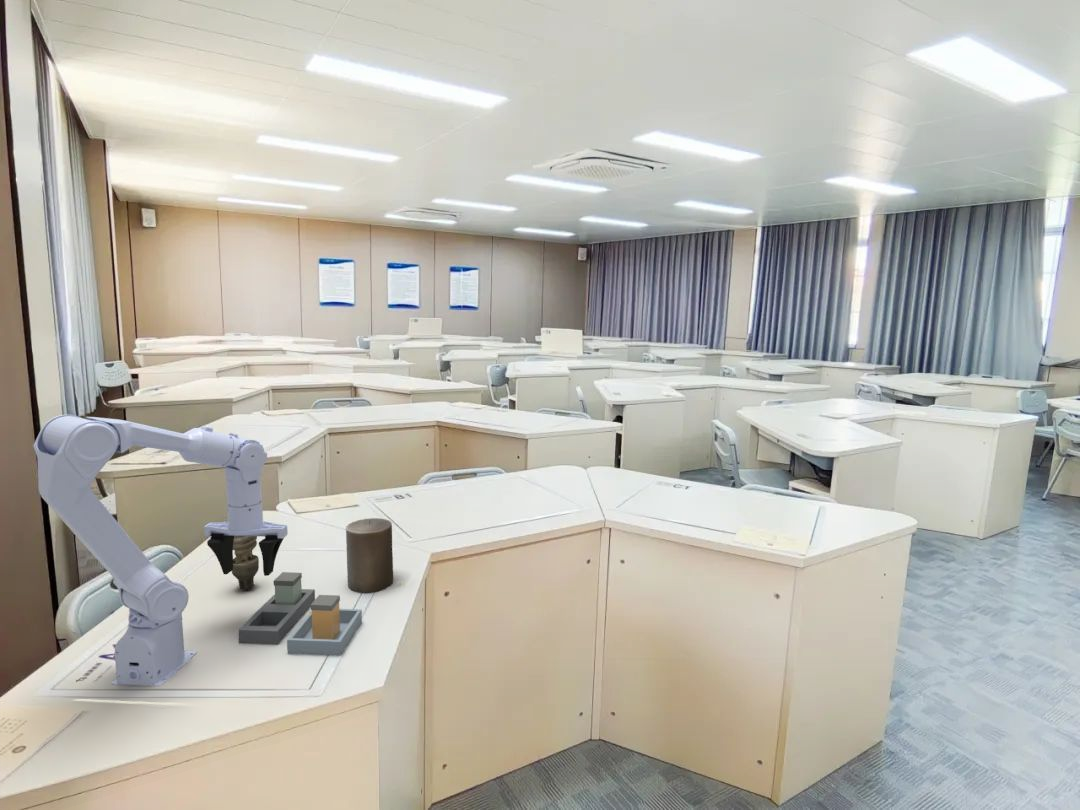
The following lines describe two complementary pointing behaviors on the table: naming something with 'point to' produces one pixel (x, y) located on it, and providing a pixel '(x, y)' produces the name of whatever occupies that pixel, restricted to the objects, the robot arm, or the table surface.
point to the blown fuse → (325, 617)
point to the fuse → (288, 588)
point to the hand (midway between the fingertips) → (248, 572)
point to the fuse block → (274, 620)
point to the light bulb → (245, 561)
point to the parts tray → (306, 644)
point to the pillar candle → (369, 555)
